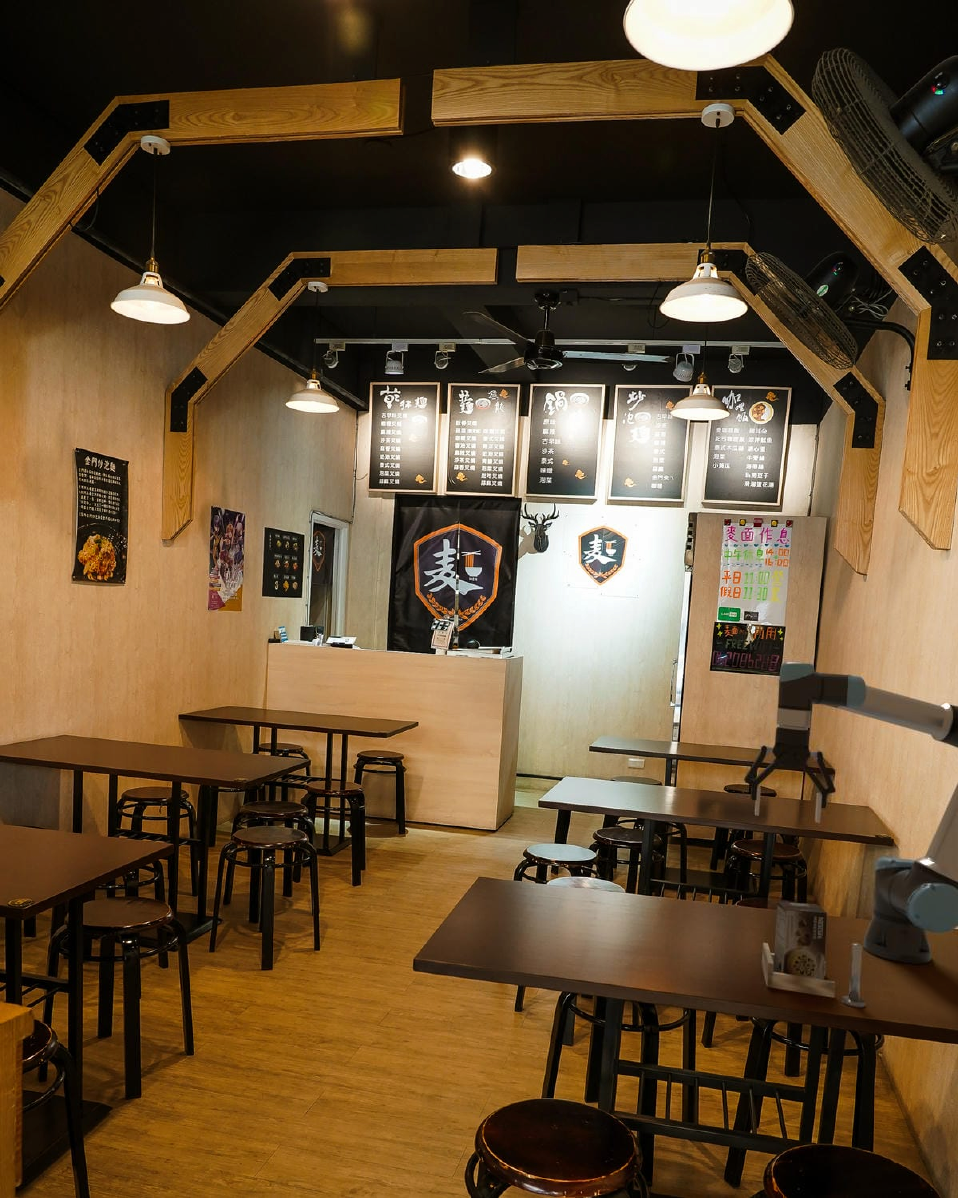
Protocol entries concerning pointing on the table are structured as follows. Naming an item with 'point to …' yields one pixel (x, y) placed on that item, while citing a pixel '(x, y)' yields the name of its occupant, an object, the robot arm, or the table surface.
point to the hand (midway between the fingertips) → (786, 818)
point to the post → (855, 978)
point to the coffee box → (800, 940)
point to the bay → (794, 978)
